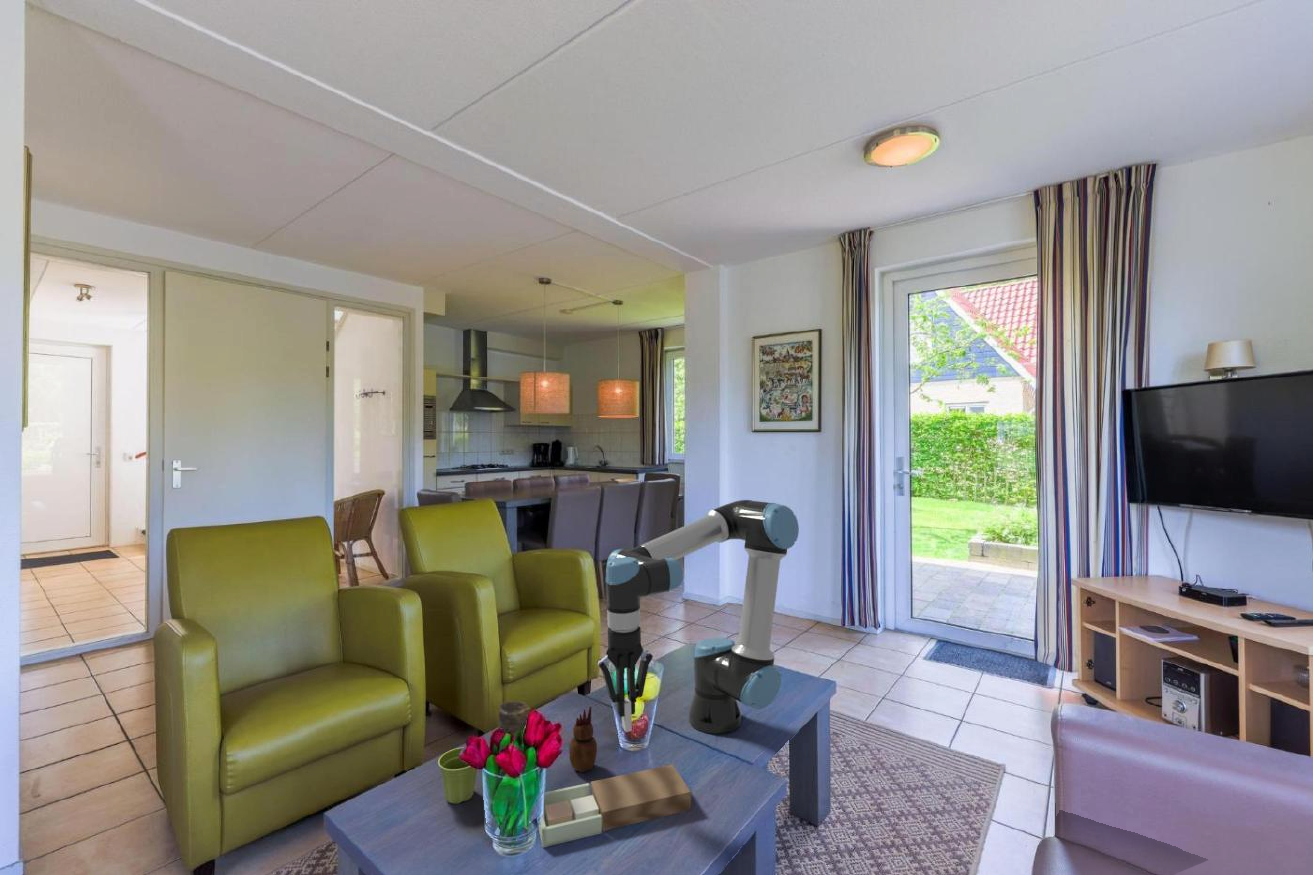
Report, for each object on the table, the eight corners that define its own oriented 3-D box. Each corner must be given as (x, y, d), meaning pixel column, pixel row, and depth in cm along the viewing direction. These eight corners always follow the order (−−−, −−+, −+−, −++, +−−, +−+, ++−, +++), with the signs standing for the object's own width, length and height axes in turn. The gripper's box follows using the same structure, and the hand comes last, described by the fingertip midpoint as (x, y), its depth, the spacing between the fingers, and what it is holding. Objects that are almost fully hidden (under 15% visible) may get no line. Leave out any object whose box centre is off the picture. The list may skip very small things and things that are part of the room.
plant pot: (452, 780, 135) (452, 744, 135) (488, 785, 134) (488, 748, 134) (429, 806, 126) (429, 767, 126) (468, 811, 124) (468, 772, 124)
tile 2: (592, 806, 125) (592, 794, 125) (598, 820, 121) (598, 808, 121) (570, 811, 124) (570, 800, 124) (575, 826, 119) (575, 814, 119)
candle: (501, 782, 135) (501, 699, 134) (532, 781, 135) (532, 697, 135) (495, 803, 127) (495, 714, 127) (528, 801, 128) (528, 713, 127)
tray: (588, 798, 129) (588, 783, 129) (601, 833, 118) (601, 816, 118) (534, 810, 125) (534, 794, 125) (542, 847, 113) (542, 830, 113)
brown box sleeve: (672, 781, 135) (672, 764, 135) (690, 809, 125) (690, 791, 125) (590, 799, 129) (590, 781, 128) (602, 831, 118) (602, 812, 118)
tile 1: (544, 805, 122) (544, 817, 122) (548, 820, 117) (548, 832, 117) (567, 800, 123) (567, 811, 123) (572, 814, 119) (572, 826, 119)
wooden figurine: (598, 762, 143) (598, 703, 143) (594, 775, 137) (594, 714, 137) (572, 760, 144) (572, 701, 144) (566, 774, 138) (566, 712, 138)
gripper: (645, 617, 135) (648, 714, 135) (592, 625, 130) (595, 726, 131) (656, 627, 128) (659, 730, 128) (600, 636, 123) (603, 743, 124)
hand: (626, 728), depth 130 cm, fingers closed
